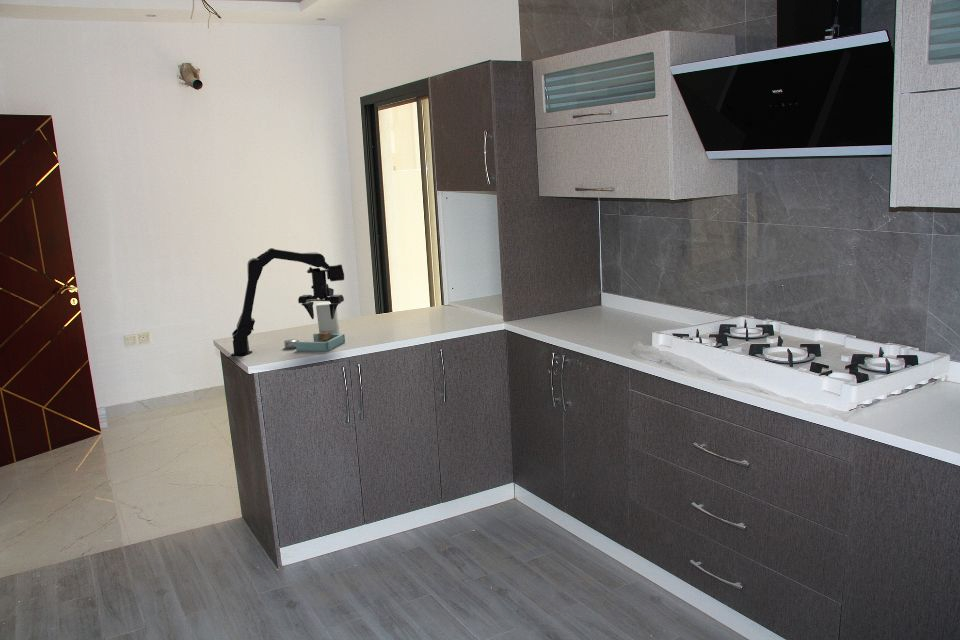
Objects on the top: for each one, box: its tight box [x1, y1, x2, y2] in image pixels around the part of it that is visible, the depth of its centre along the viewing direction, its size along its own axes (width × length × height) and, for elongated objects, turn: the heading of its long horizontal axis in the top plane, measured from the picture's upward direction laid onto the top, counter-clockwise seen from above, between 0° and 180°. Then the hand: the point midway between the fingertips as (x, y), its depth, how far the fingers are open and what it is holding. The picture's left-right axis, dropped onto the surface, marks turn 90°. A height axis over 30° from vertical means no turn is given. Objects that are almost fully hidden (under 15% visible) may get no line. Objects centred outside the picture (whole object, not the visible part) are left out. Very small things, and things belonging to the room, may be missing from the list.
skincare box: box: [315, 301, 341, 334], centre depth 351 cm, size 8×7×16 cm
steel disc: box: [283, 338, 300, 350], centre depth 336 cm, size 6×6×3 cm
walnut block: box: [317, 332, 331, 342], centre depth 339 cm, size 4×4×5 cm
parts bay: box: [295, 333, 346, 352], centre depth 336 cm, size 16×14×4 cm
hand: (322, 319), depth 338 cm, fingers open, 9 cm apart
